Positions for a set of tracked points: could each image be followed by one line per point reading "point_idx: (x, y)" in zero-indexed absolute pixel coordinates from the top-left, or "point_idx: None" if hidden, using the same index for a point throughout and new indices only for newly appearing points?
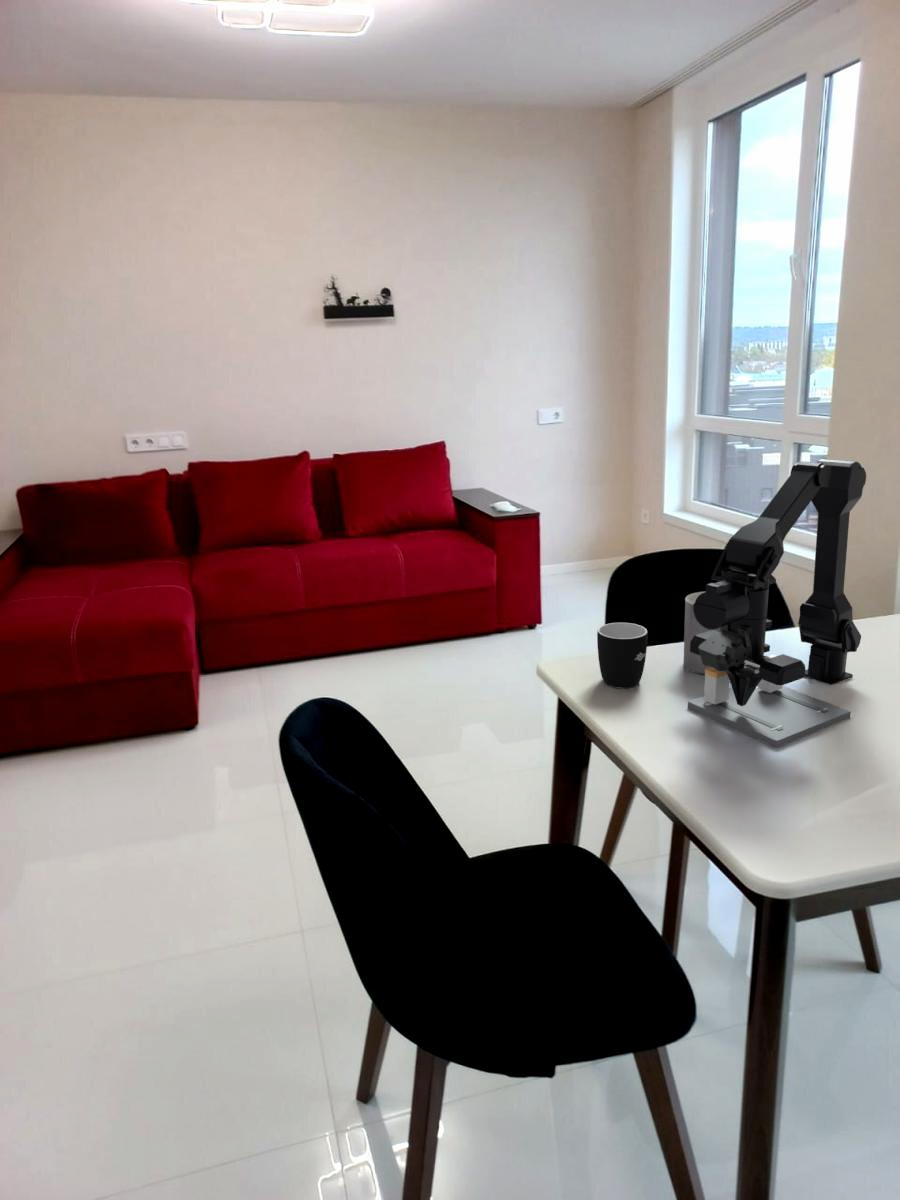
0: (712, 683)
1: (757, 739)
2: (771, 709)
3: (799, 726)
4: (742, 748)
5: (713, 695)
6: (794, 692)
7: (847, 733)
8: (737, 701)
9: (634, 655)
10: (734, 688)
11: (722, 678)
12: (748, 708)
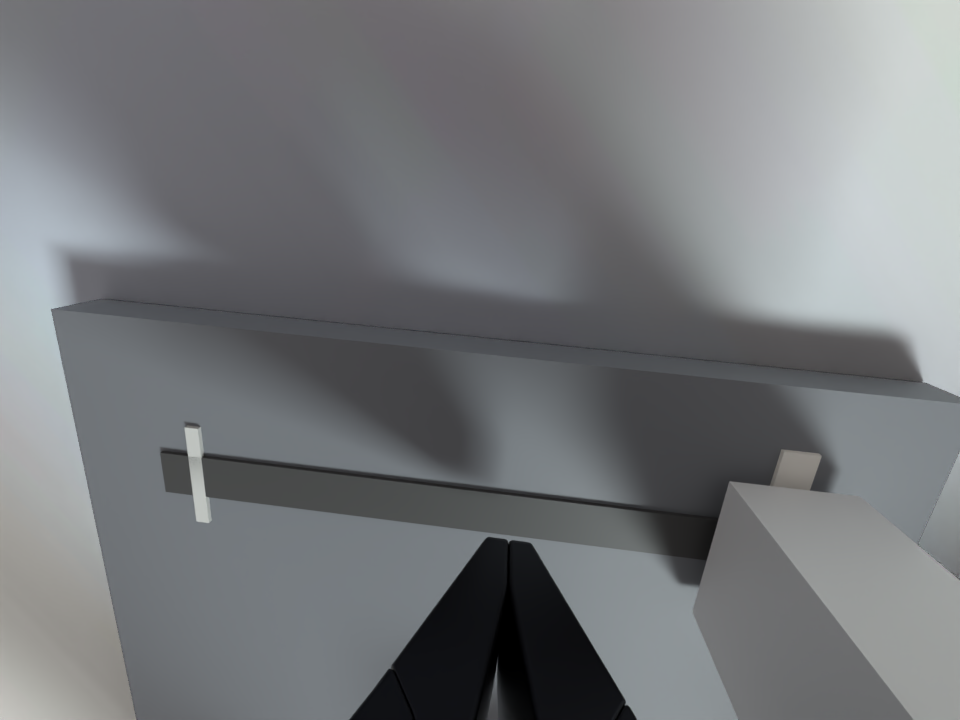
0: (926, 656)
1: (247, 314)
2: None
3: (152, 583)
4: (204, 108)
5: (796, 535)
6: None
7: (81, 687)
8: (526, 557)
9: None
10: (568, 670)
11: None
12: None
